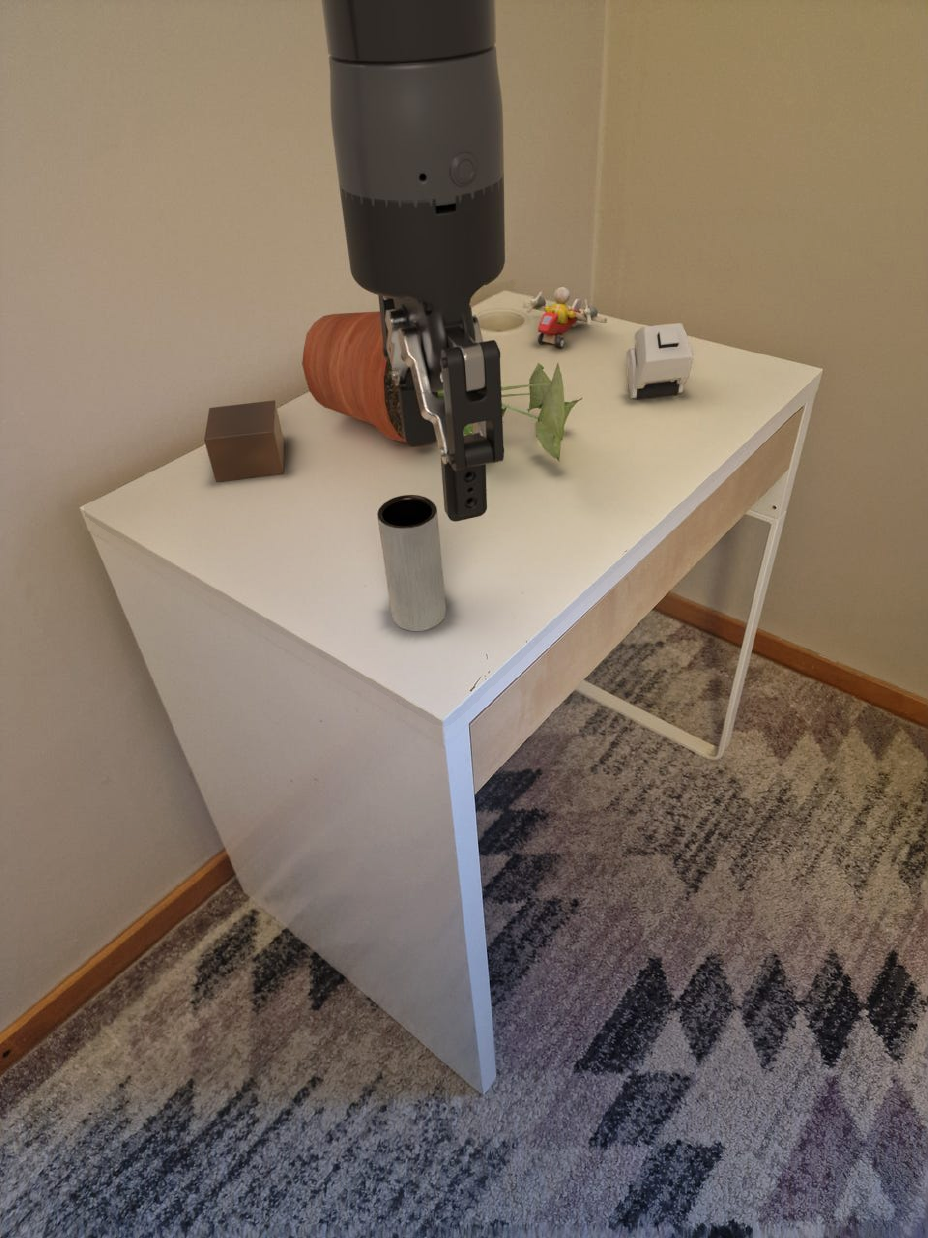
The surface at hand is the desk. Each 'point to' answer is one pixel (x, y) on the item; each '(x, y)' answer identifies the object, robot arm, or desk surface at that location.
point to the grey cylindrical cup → (412, 561)
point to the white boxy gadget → (659, 361)
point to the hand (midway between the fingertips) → (443, 476)
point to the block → (244, 441)
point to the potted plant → (364, 389)
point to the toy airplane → (561, 316)
